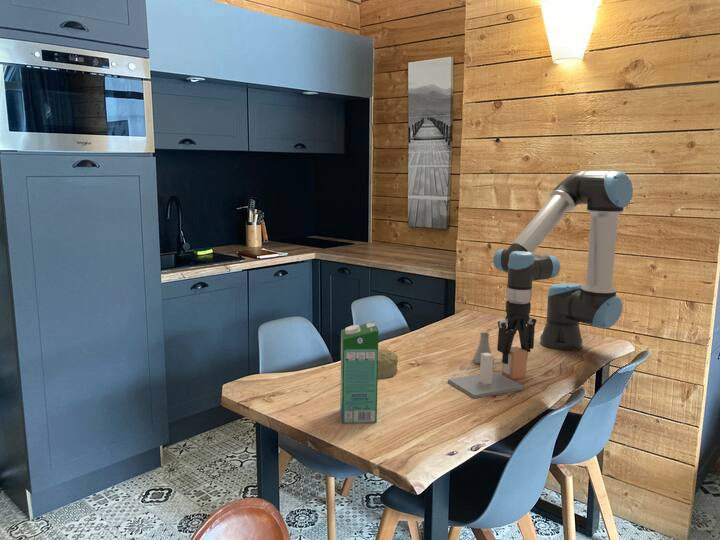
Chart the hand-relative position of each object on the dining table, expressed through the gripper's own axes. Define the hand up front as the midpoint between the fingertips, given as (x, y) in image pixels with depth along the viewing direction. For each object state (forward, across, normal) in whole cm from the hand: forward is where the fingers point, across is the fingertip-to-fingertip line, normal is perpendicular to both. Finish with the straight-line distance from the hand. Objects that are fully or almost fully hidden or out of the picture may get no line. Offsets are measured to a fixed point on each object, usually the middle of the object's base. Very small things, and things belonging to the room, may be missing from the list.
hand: (514, 371), depth 195 cm
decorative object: (+2, +38, -18) cm, 42 cm away
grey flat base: (+1, +14, +4) cm, 15 cm away
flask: (+2, +1, -15) cm, 15 cm away
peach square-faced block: (+1, 0, 0) cm, 1 cm away
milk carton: (+1, +59, +9) cm, 60 cm away
